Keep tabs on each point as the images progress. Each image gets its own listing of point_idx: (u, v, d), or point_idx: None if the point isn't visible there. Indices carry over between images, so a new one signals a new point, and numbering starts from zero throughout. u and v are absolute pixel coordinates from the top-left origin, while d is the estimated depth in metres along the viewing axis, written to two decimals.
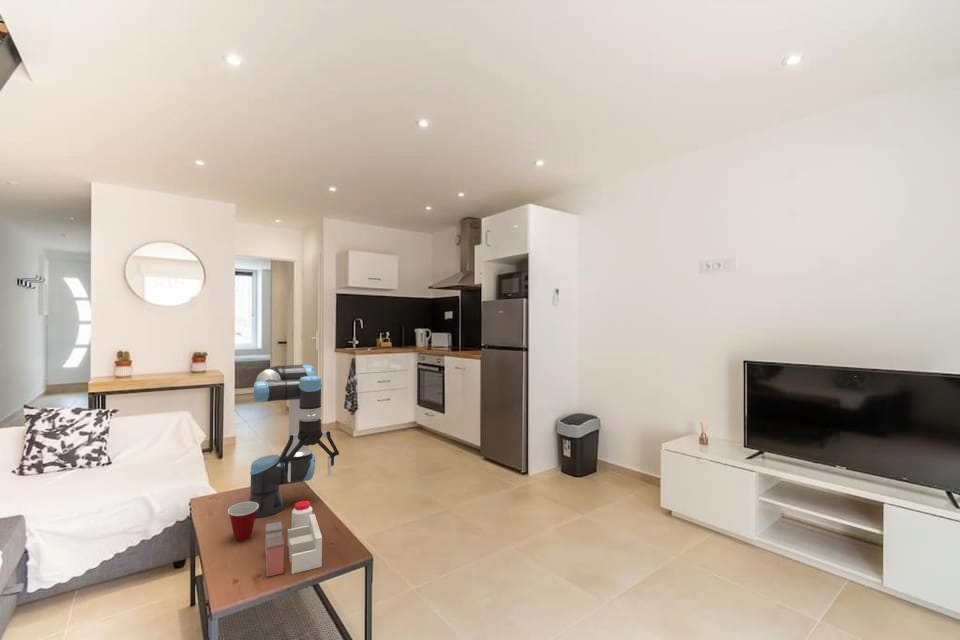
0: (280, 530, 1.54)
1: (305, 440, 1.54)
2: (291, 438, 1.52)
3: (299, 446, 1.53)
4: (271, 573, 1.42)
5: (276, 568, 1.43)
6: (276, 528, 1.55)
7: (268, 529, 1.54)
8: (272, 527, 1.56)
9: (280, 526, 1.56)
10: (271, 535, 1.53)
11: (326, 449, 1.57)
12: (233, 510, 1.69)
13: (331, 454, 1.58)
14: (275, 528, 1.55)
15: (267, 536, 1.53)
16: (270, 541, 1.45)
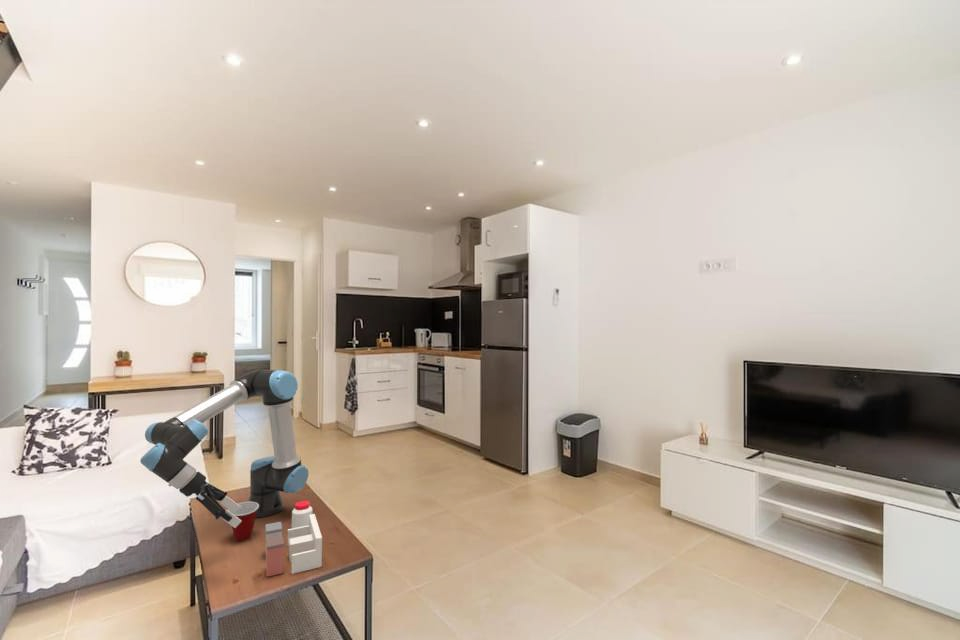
0: (280, 530, 1.54)
1: None
2: None
3: None
4: (271, 573, 1.42)
5: (276, 568, 1.43)
6: (276, 528, 1.55)
7: (268, 529, 1.54)
8: (272, 527, 1.56)
9: (280, 526, 1.56)
10: (271, 535, 1.53)
11: None
12: None
13: None
14: (275, 528, 1.55)
15: (267, 536, 1.53)
16: (270, 541, 1.45)
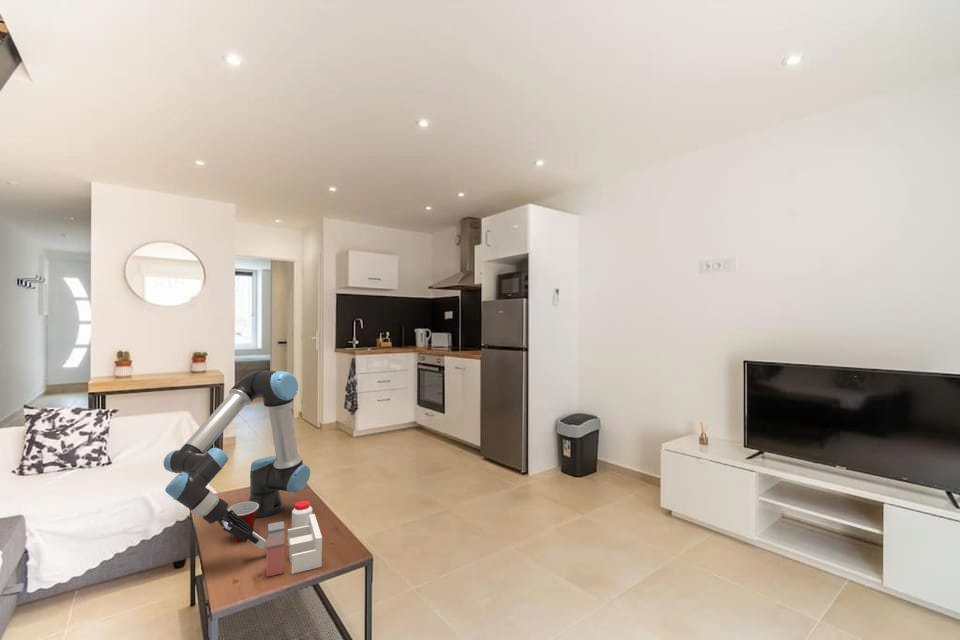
0: (282, 530, 1.55)
1: None
2: None
3: None
4: (271, 573, 1.42)
5: (276, 568, 1.43)
6: (278, 528, 1.55)
7: (271, 529, 1.54)
8: (275, 526, 1.56)
9: (282, 526, 1.57)
10: (274, 535, 1.54)
11: None
12: (233, 510, 1.69)
13: None
14: (277, 528, 1.55)
15: (269, 535, 1.53)
16: (270, 541, 1.45)
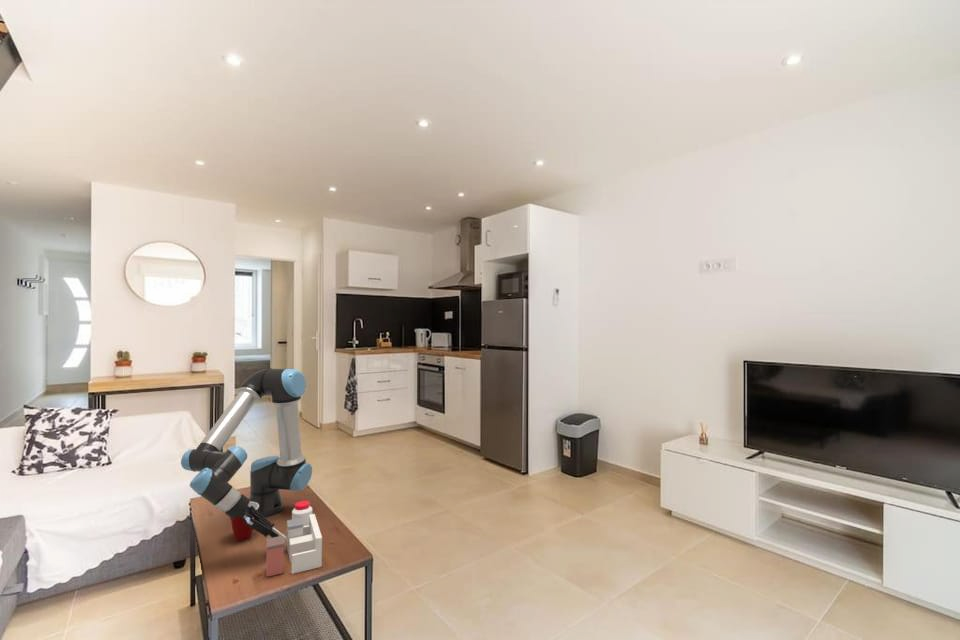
0: (301, 526, 1.58)
1: None
2: None
3: None
4: (271, 573, 1.42)
5: (276, 568, 1.43)
6: (298, 524, 1.58)
7: (290, 525, 1.57)
8: (294, 523, 1.59)
9: (301, 522, 1.60)
10: (293, 531, 1.57)
11: None
12: None
13: None
14: (297, 524, 1.58)
15: (289, 532, 1.56)
16: (270, 541, 1.45)
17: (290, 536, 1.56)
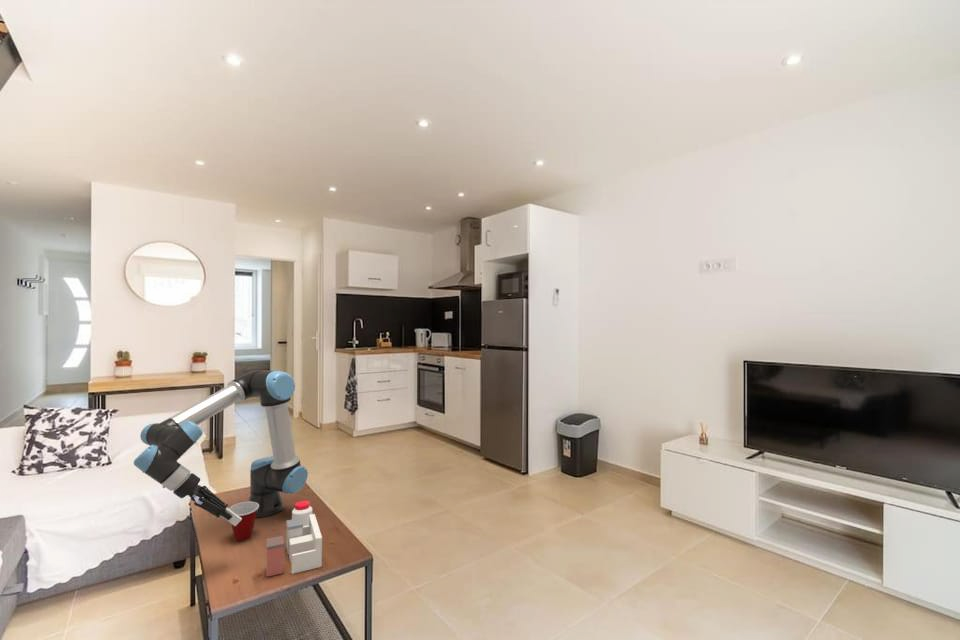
0: (301, 526, 1.58)
1: None
2: None
3: None
4: (271, 573, 1.42)
5: (276, 568, 1.43)
6: (297, 524, 1.58)
7: (289, 525, 1.57)
8: (293, 523, 1.59)
9: (301, 522, 1.60)
10: (292, 531, 1.56)
11: None
12: (233, 510, 1.69)
13: None
14: (296, 524, 1.58)
15: (289, 532, 1.56)
16: (270, 541, 1.45)
17: (290, 536, 1.56)
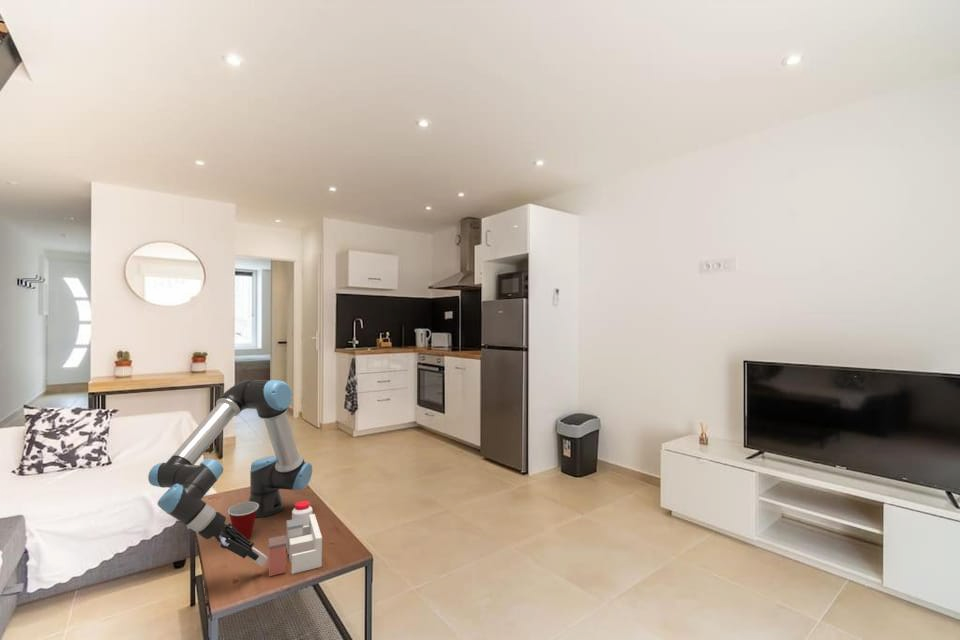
0: (301, 526, 1.58)
1: None
2: None
3: None
4: (274, 573, 1.43)
5: (278, 568, 1.43)
6: (297, 524, 1.58)
7: (289, 525, 1.57)
8: (293, 523, 1.59)
9: (301, 522, 1.60)
10: (292, 531, 1.56)
11: None
12: (233, 510, 1.69)
13: None
14: (296, 524, 1.58)
15: (289, 532, 1.56)
16: (272, 541, 1.46)
17: (290, 536, 1.56)
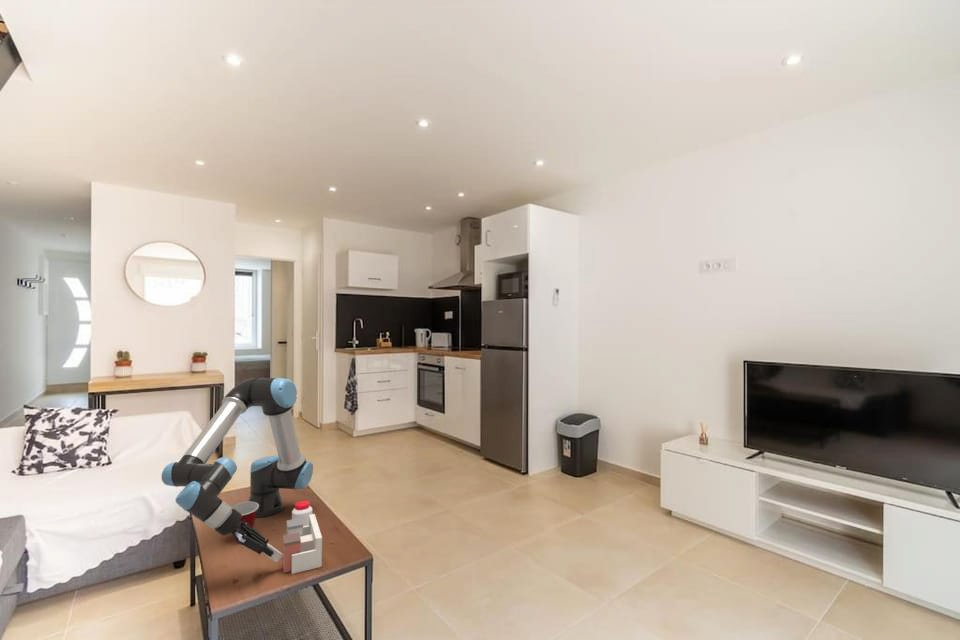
0: (301, 526, 1.58)
1: None
2: None
3: None
4: (288, 569, 1.45)
5: None
6: (297, 524, 1.58)
7: (289, 525, 1.57)
8: (293, 523, 1.59)
9: (301, 522, 1.60)
10: (292, 531, 1.56)
11: None
12: None
13: None
14: (296, 524, 1.58)
15: (289, 532, 1.56)
16: (287, 538, 1.48)
17: None
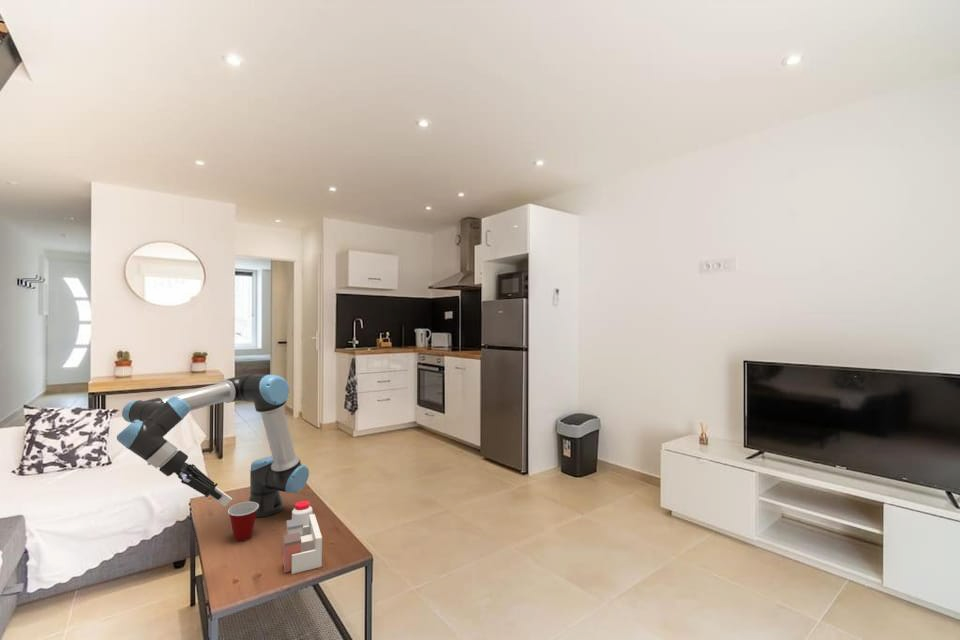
0: (301, 526, 1.58)
1: None
2: None
3: None
4: (289, 569, 1.45)
5: None
6: (297, 524, 1.58)
7: (289, 525, 1.57)
8: (293, 523, 1.59)
9: (301, 522, 1.60)
10: (292, 531, 1.56)
11: None
12: (233, 510, 1.69)
13: None
14: (296, 524, 1.58)
15: (289, 532, 1.56)
16: (287, 537, 1.48)
17: None
